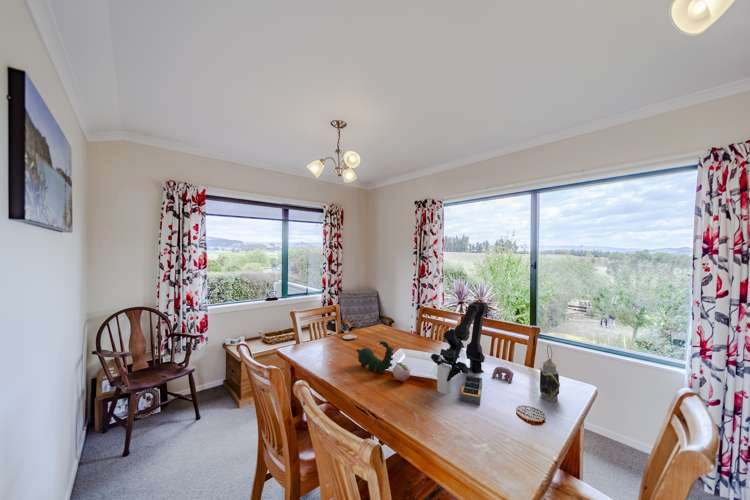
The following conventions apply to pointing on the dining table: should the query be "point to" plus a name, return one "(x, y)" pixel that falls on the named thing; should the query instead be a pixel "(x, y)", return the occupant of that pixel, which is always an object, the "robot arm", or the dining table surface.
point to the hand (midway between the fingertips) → (442, 379)
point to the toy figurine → (375, 358)
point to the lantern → (549, 380)
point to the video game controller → (503, 370)
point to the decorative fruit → (401, 371)
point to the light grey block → (443, 379)
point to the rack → (471, 390)
